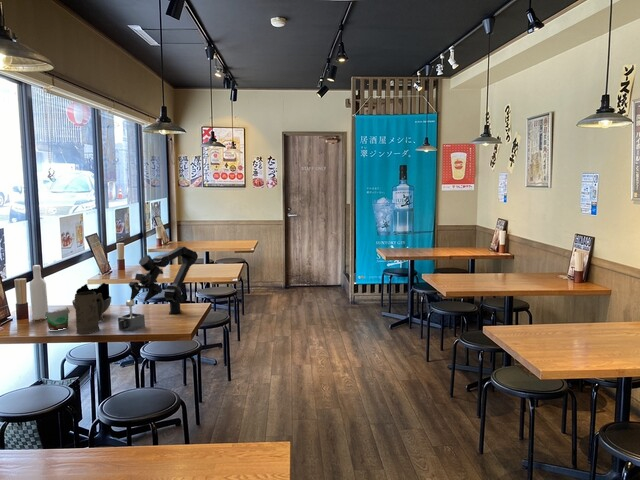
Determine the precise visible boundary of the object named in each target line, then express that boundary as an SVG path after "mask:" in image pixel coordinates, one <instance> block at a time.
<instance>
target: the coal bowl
mask: <svg viewBox="0 0 640 480" xmlns="http://www.w3.org/2000/svg"><path fill="white" fill-rule="evenodd" d="M88 285H89V284H87V283H85V284H84V285H82V286H80V287H79V288H77V290H76V292H75V294H76V293H81V292H95V293H96V295H98V294H99V293H102V298H103V301H104V310H103V313H102V315H103V314H104V313H106V311H108V309H109V308H110V306H111V303H112V296H111V295H109V285H108V284H107V283H105V282H103V283H102V284H100V285H98V286H97V287H96V288H89V286H88ZM96 300H97V305H98V315H99V310H100V302H99V299H96ZM71 303H72V306H73V308H74V309H75V307H76V303H75V298H74V299H72V302H71Z"/></svg>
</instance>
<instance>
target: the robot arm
mask: <svg viewBox="0 0 640 480" xmlns="http://www.w3.org/2000/svg"><path fill="white" fill-rule="evenodd" d="M178 257H181V266H180V267H179V270H178V272H177V274H176V276H175V278H174V280H173V282H172V283H171V284H169V285H167V286H166V288H165V290H164V295H163V296H164V299H165V302H166V303H169V312H168V314H169V315H177V314H182V308H181V304H182V303H184V300H185V298H184V297H183V296H182V289H181V288H182V286H183V283H184V281H185V279H186V276H187V275H188V272H189V270H190V268H191V266H193V265H194V264H195V263H196V261H197V260H198V257H199V255H198V252H197V251H195V250H191V249H190V248H188V247H186V246H177V247H176V248H174V249H172V250H171V251H168V252H167V253H165V254H160V255H156V256H154V257H153V258H152V257H151V256H150V255H149V254H145V256H143V257H142V258H140V259H139V261H138V264H139V265H140V266H141V267H142V268H143V270H144V271H146V273H135V277H134V280H135V281H133V280H132V281H130V282H129V283H128V286H129V288H130V289H131V293H130V298H129V300H135V298H136V297H137V296H138V295H139V293H141V291H142V289H144V290H145V289H146V290H147V293H146V295H145V297H144V299H143V302H145V303H146V302H148V301H149V300H151V299H152V298H153V297H156V296H157V295H159V294H162V292H163V288H162V286H161V285H160V284H159V283H158V280H157V279H158V277H159V276H160V275H164V271H163V268H165V267H167V266H168V265H170V262H171V261H173V260H175V259H177V258H178ZM138 281H139V282H138Z"/></svg>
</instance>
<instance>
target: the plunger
mask: <svg viewBox="0 0 640 480" xmlns="http://www.w3.org/2000/svg"><path fill="white" fill-rule="evenodd" d="M125 302H126V303H125V305H126V307H129V313H130V317H127V318H134V316H132V313H133V307H134V306H135V299H133V300H130V299H127V300H126V301H125Z"/></svg>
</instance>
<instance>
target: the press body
mask: <svg viewBox="0 0 640 480" xmlns="http://www.w3.org/2000/svg"><path fill="white" fill-rule="evenodd" d="M132 316H134V318H127V317H130V312H129V313H128V314H127V313H126V314H123V315H121V316H118V317H117V322H118V323H117V324H118V331H126V332H135V331H138V330H139V329H144V328H145V327H146V319H145V314H143V313H135V312H132Z"/></svg>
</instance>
